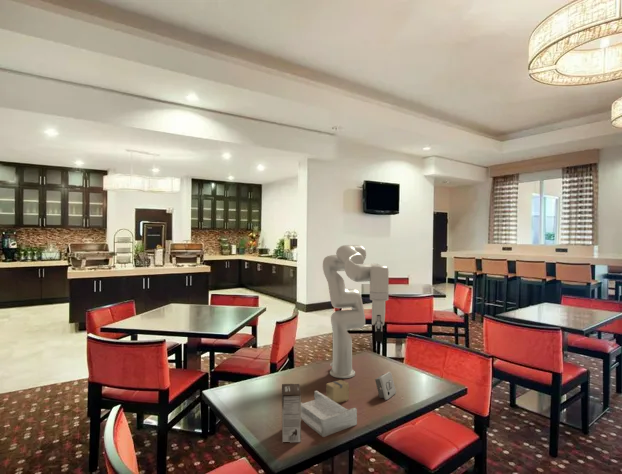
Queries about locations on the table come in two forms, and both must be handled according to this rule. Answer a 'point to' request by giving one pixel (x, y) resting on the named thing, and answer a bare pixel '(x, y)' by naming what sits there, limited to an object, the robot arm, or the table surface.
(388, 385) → the electrical switch
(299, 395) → the coffee box
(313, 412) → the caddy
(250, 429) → the table surface
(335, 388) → the tan cardboard box
